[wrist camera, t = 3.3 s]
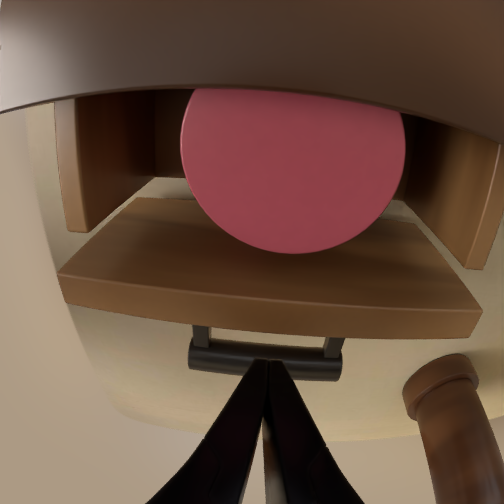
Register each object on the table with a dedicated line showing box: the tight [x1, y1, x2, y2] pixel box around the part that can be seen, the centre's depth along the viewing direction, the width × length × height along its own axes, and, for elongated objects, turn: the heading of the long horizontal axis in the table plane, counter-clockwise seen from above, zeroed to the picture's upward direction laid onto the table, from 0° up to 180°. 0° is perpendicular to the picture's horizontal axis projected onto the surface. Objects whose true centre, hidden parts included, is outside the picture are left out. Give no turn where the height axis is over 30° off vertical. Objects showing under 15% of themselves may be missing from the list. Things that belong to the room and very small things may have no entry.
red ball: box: [180, 89, 406, 254], centre depth 9 cm, size 5×5×5 cm
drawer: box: [54, 89, 504, 381], centre depth 10 cm, size 15×13×7 cm
